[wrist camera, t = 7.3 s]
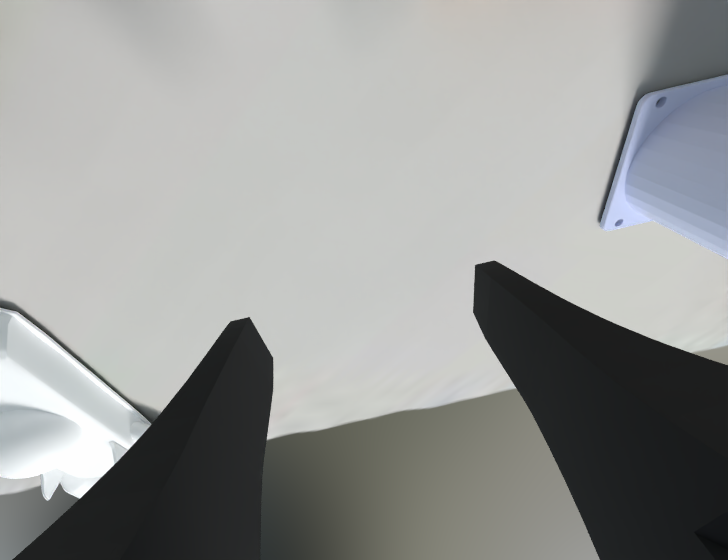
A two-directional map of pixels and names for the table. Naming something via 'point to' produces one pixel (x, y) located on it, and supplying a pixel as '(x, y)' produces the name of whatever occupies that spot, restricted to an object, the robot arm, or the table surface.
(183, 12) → the table surface
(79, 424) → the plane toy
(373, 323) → the table surface
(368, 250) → the table surface
